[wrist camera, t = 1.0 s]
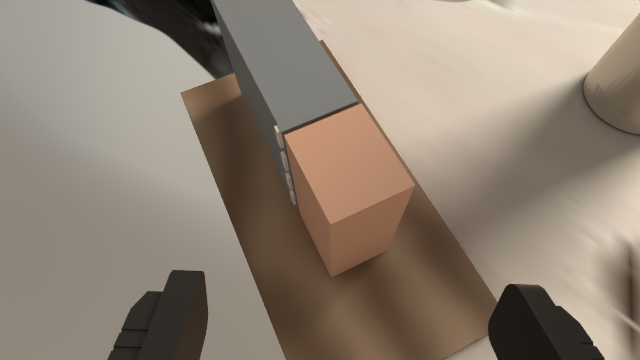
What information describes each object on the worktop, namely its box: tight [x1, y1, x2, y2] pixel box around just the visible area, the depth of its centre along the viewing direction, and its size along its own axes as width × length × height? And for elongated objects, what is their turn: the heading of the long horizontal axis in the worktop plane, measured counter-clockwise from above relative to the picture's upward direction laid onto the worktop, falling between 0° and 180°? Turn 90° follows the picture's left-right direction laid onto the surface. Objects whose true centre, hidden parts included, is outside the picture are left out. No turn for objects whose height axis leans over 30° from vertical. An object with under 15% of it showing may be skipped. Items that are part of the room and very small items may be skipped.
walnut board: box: [181, 40, 498, 360], centre depth 35 cm, size 16×32×2 cm, turn 25°
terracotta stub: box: [284, 103, 415, 278], centre depth 27 cm, size 5×6×12 cm
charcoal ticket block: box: [211, 0, 358, 210], centre depth 31 cm, size 5×14×12 cm, turn 26°
